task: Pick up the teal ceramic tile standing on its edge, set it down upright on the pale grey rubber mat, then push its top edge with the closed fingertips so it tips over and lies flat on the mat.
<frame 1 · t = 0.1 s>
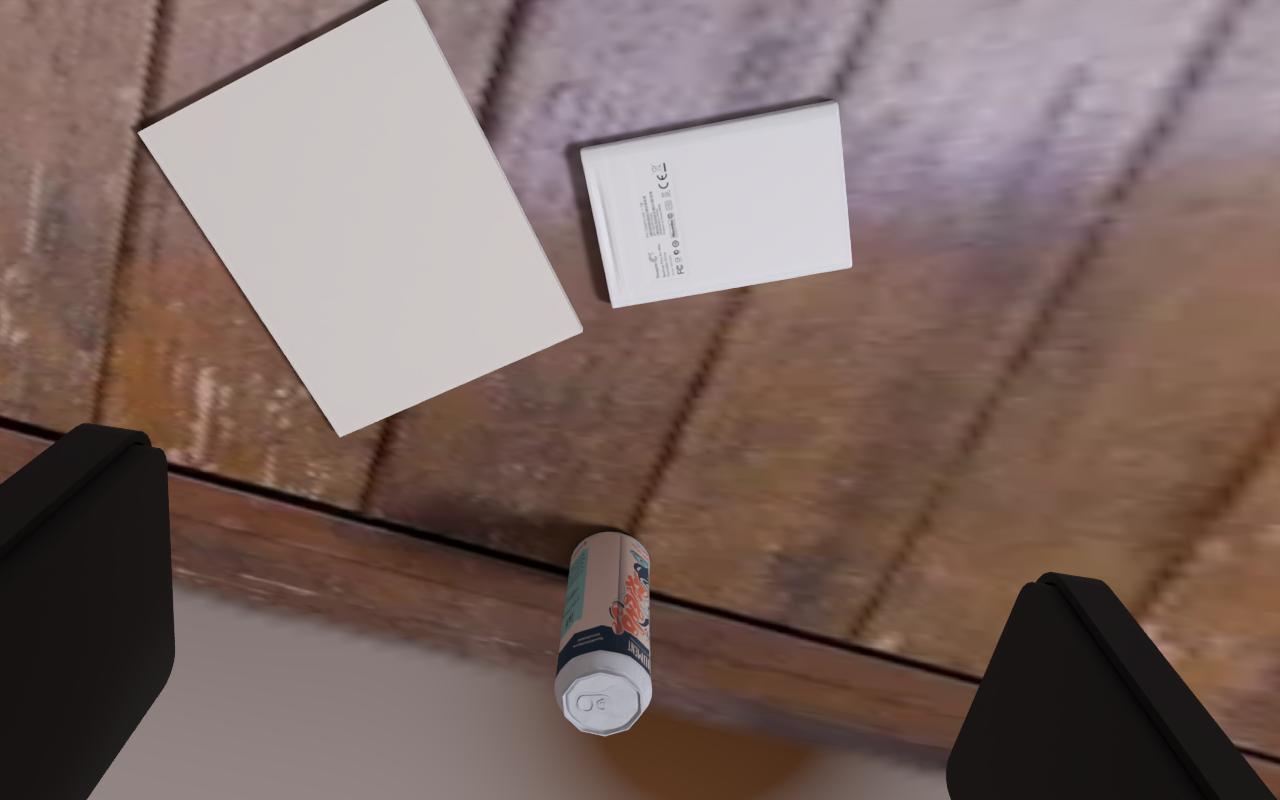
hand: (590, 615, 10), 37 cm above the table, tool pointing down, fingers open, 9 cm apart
beer can: (610, 558, 54), on the table
external hard drive: (717, 203, 46), on the table
mat: (373, 234, 46), on the table
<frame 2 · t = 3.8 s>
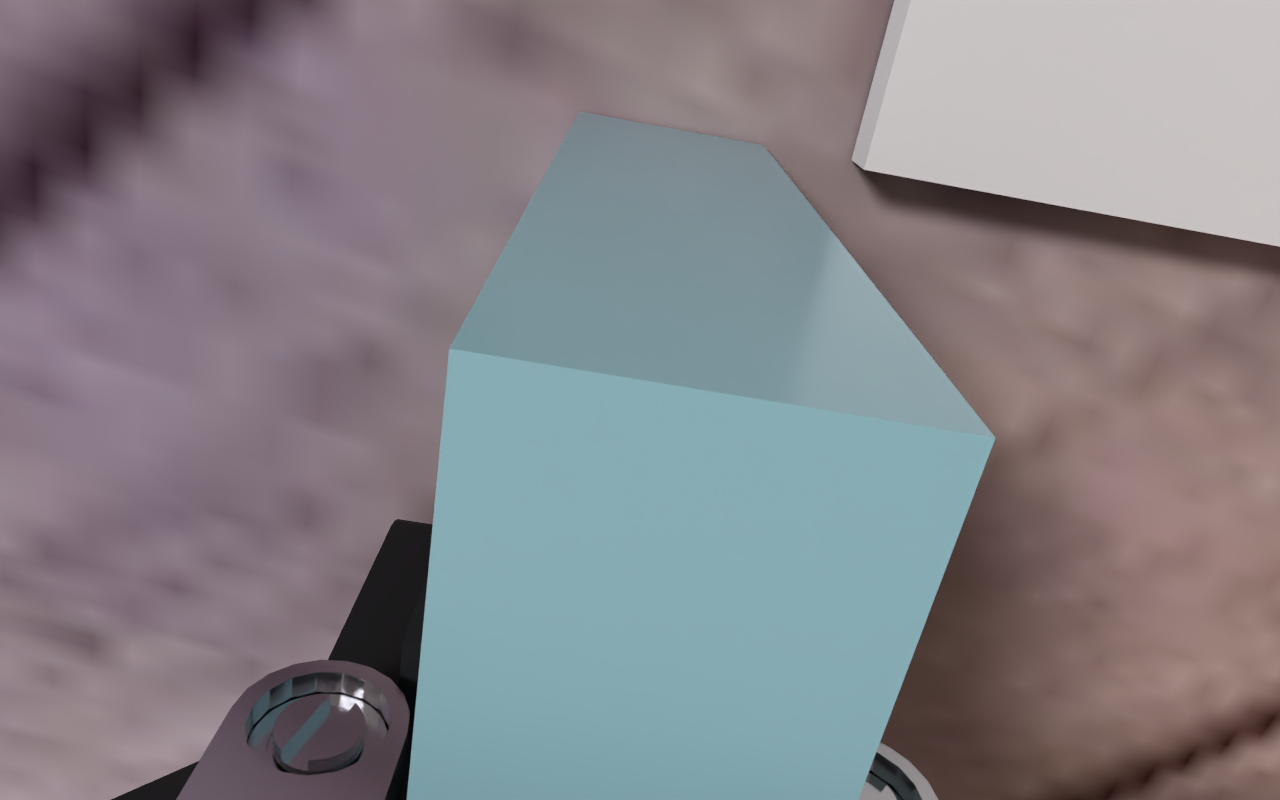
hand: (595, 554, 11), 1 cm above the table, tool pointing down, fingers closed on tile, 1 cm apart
tile: (599, 522, 12), on the table, touching gripper
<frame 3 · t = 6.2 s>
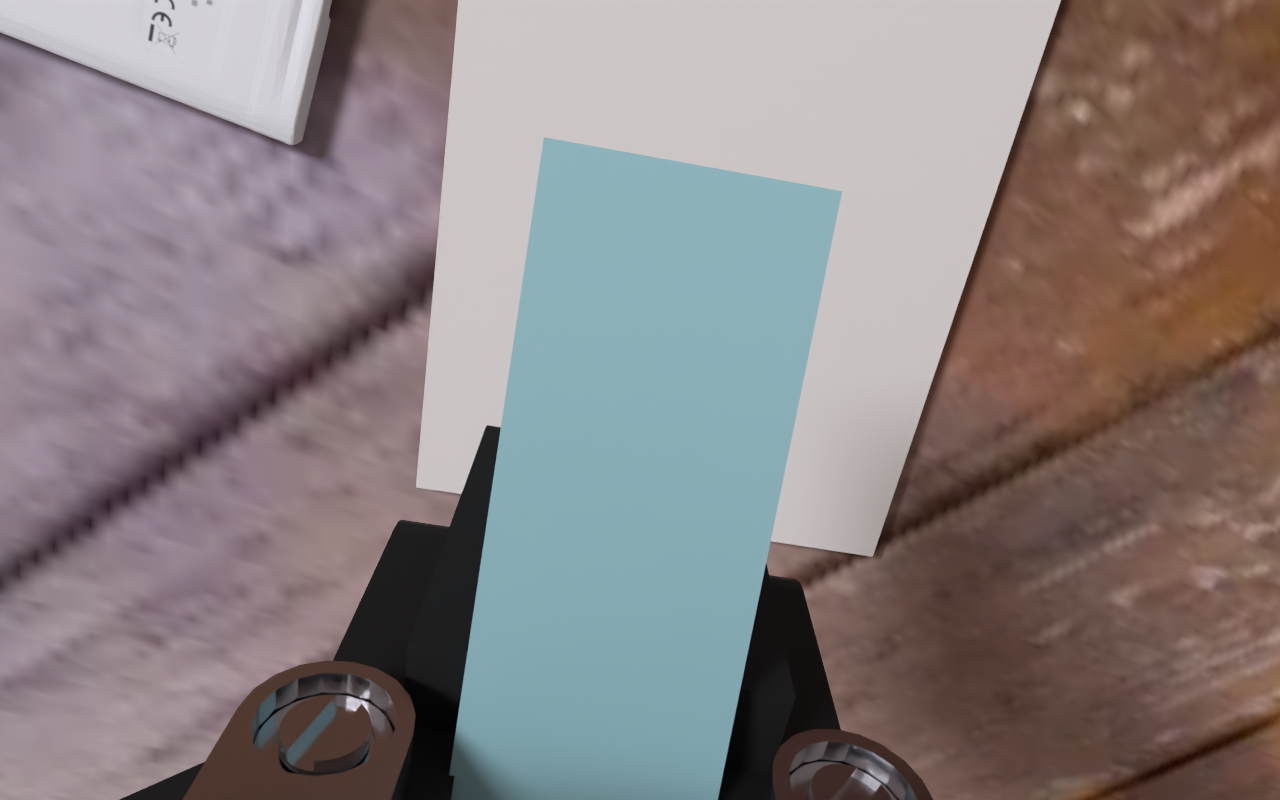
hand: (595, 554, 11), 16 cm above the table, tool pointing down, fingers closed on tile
tile: (590, 537, 14), point 14 cm above the table, tilted 14°, touching gripper
mat: (704, 248, 26), on the table
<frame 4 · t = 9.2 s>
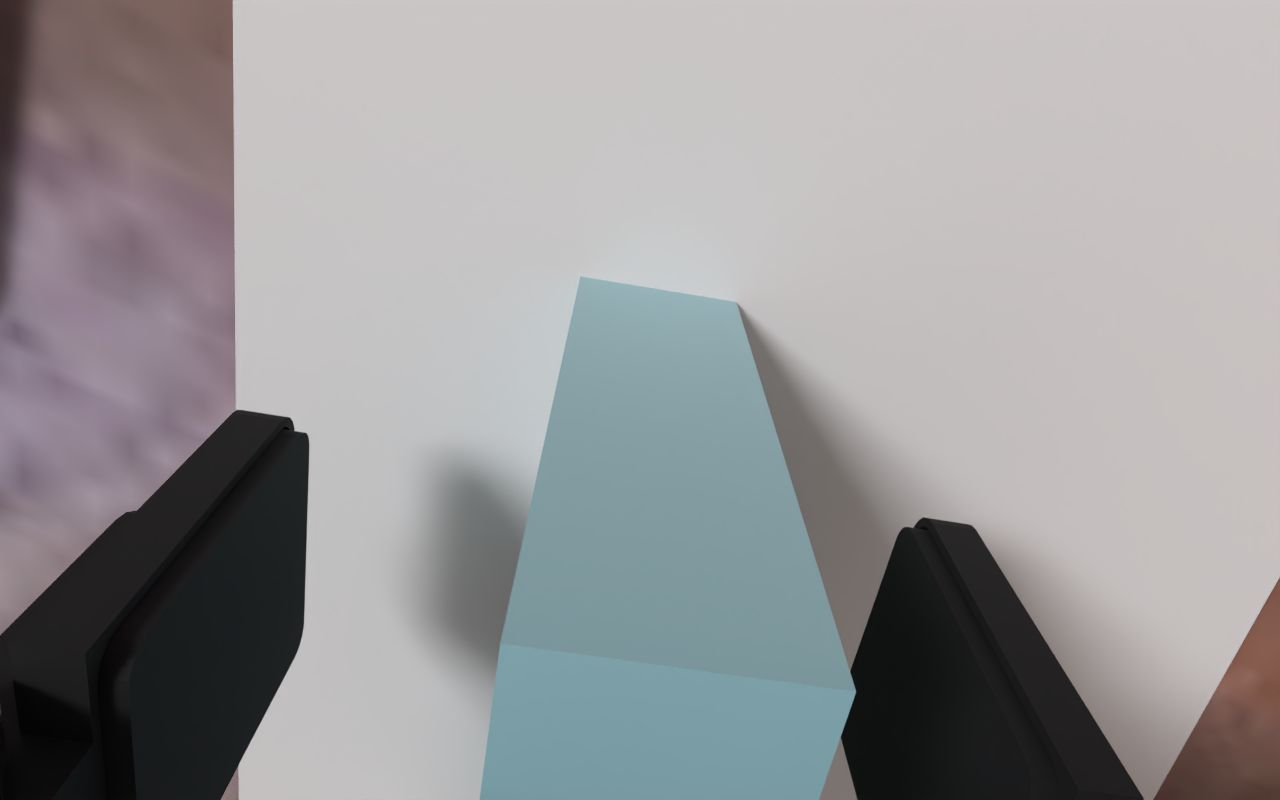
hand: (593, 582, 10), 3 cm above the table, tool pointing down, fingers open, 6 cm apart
tile: (599, 607, 13), point 1 cm above the table, touching mat
mat: (770, 489, 13), on the table
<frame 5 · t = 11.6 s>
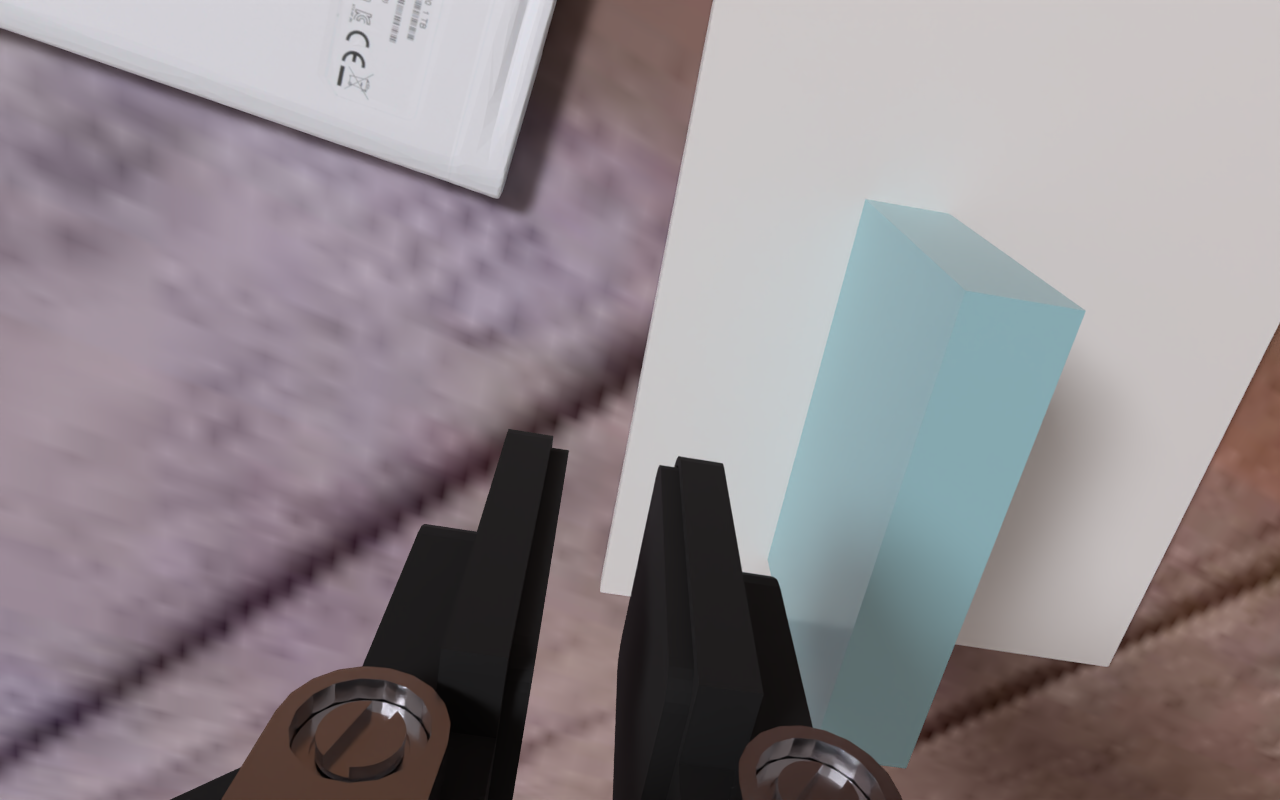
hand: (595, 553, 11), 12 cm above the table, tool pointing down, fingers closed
tile: (850, 401, 23), point 1 cm above the table, touching mat
mat: (952, 330, 23), on the table
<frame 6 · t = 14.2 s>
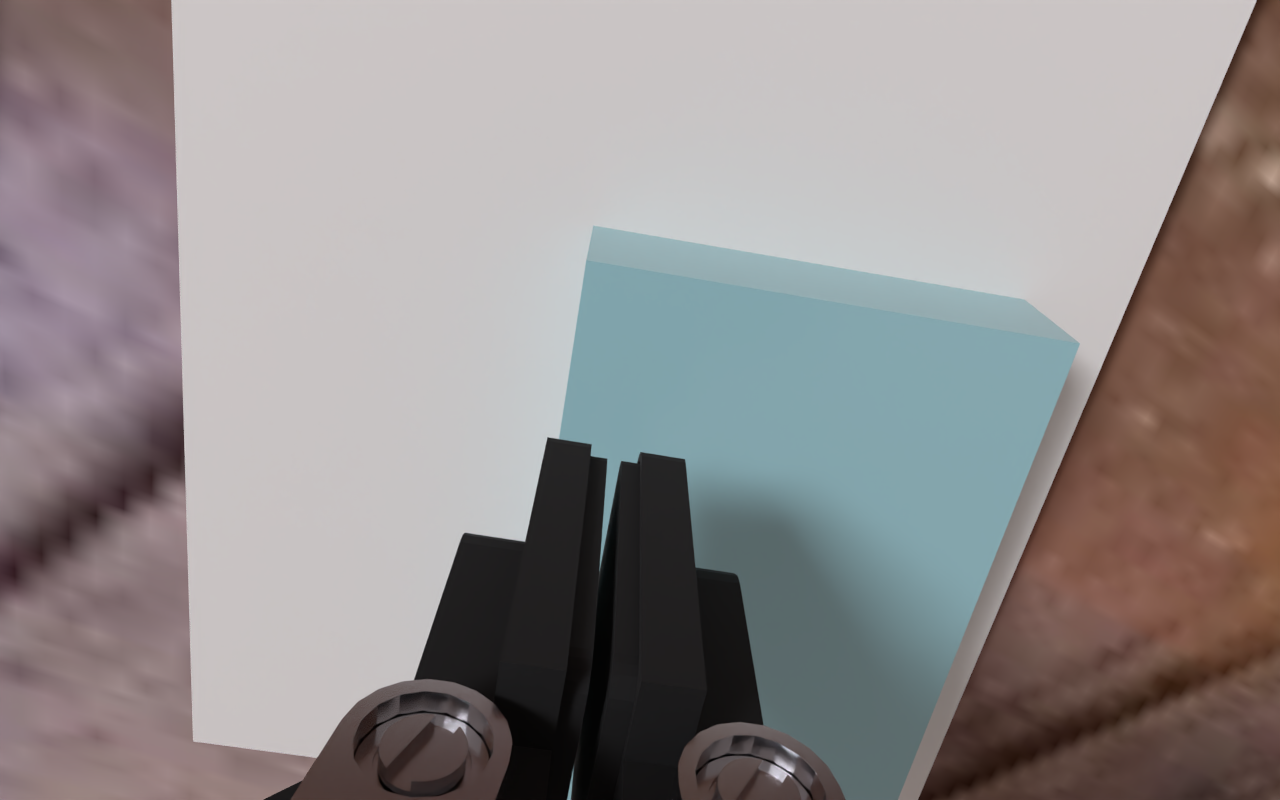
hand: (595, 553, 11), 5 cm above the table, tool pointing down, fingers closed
tile: (545, 531, 15), point 2 cm above the table, tilted 90°, touching mat
mat: (634, 391, 16), on the table
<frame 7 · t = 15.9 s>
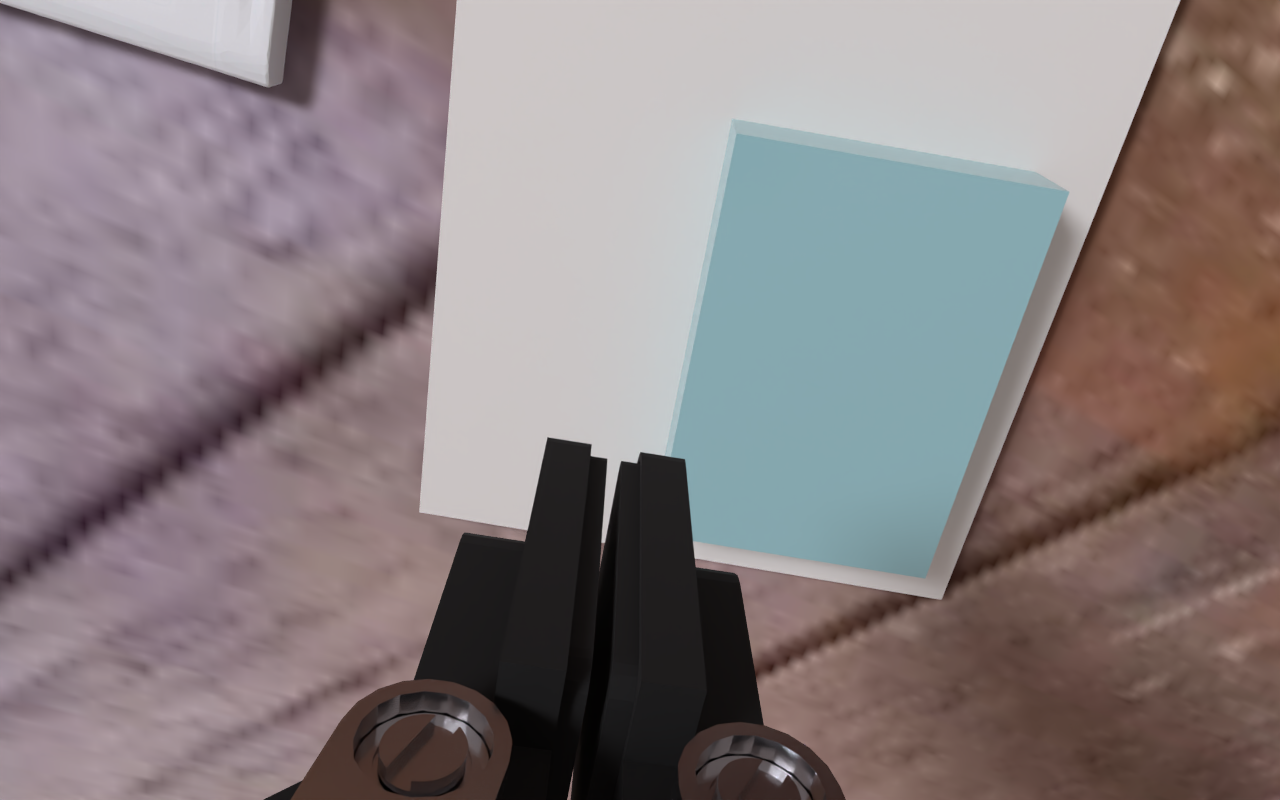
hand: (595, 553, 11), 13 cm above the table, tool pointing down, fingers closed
tile: (691, 339, 21), point 2 cm above the table, tilted 90°, touching mat
mat: (752, 244, 22), on the table
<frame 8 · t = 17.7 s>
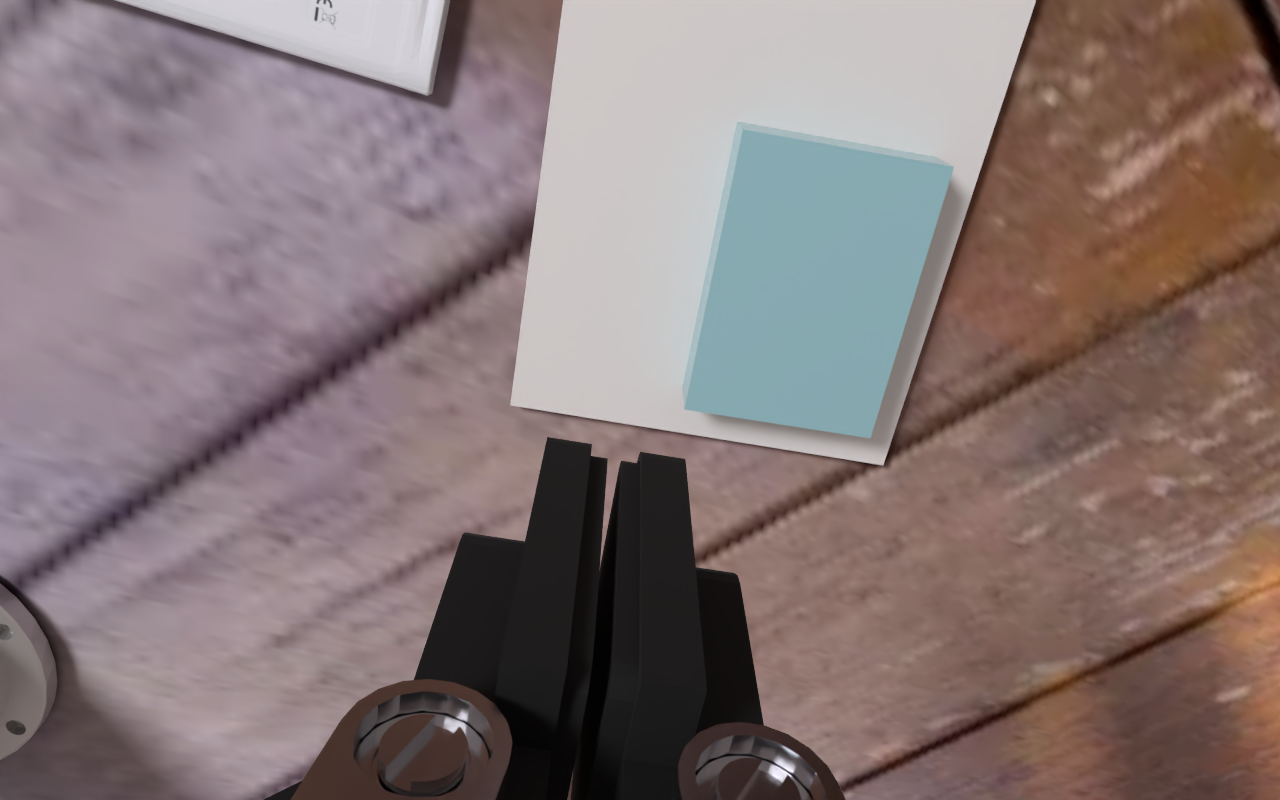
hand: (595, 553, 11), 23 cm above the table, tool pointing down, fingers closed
tile: (709, 270, 32), point 2 cm above the table, tilted 90°, touching mat
mat: (749, 207, 32), on the table
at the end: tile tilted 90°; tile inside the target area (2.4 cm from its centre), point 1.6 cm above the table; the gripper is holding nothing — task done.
